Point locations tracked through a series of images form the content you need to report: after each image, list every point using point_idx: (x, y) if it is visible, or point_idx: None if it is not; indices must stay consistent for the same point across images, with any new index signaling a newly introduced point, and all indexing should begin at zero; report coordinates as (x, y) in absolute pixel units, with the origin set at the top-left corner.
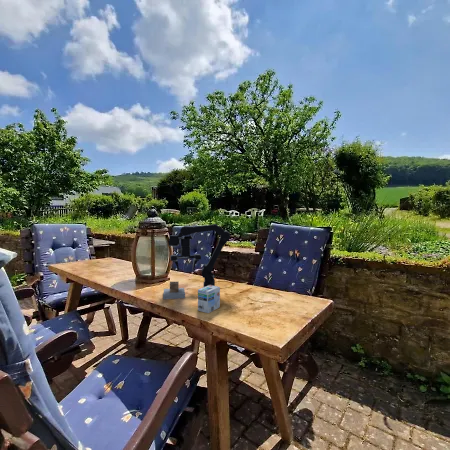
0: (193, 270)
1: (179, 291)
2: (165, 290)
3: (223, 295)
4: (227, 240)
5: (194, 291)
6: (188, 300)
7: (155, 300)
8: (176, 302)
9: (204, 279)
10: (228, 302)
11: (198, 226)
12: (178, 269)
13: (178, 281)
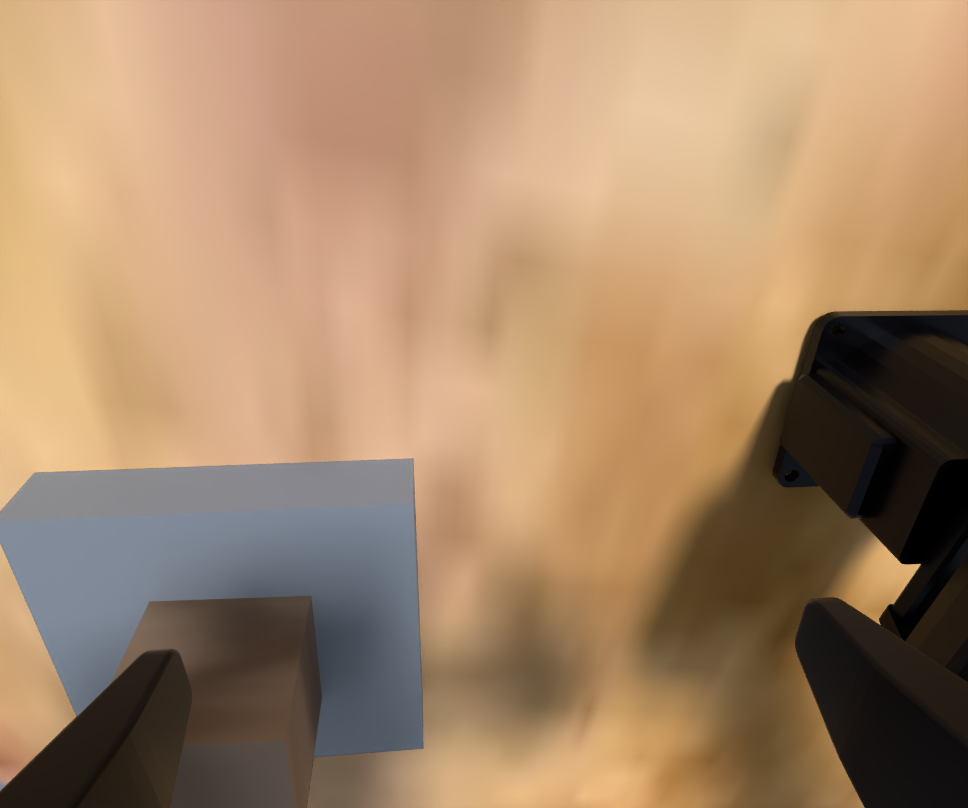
0: (814, 641)
1: (334, 669)
2: (65, 612)
3: None
4: None
5: (596, 466)
6: (459, 755)
7: (26, 742)
8: (318, 794)
9: (935, 480)
10: (843, 804)
11: None
12: (153, 805)
13: (283, 742)
